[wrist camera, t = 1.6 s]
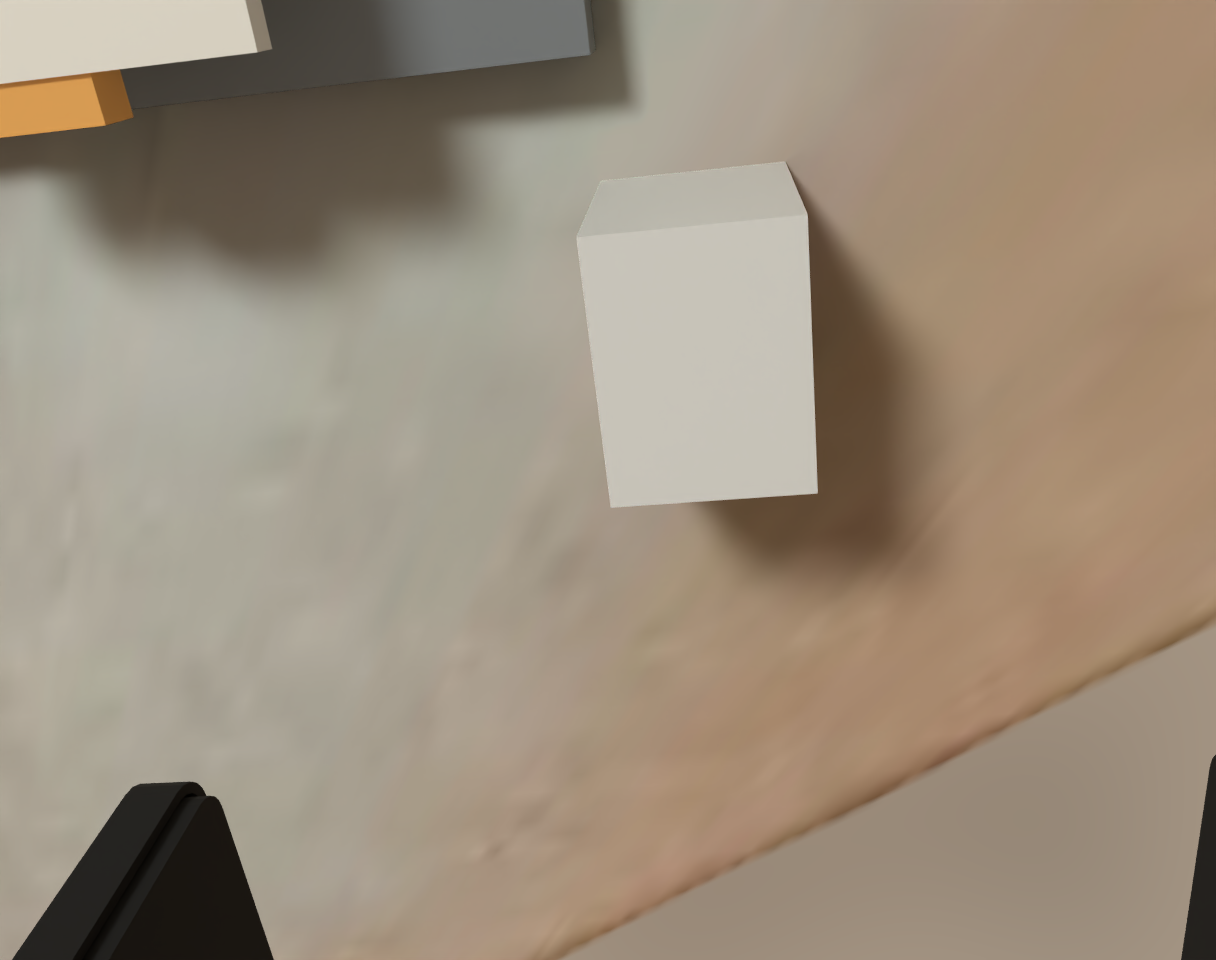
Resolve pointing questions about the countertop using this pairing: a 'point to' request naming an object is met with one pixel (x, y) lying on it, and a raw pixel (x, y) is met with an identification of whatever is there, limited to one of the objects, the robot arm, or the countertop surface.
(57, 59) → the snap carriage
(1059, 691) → the countertop surface
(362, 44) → the rail mount
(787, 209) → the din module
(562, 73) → the countertop surface
